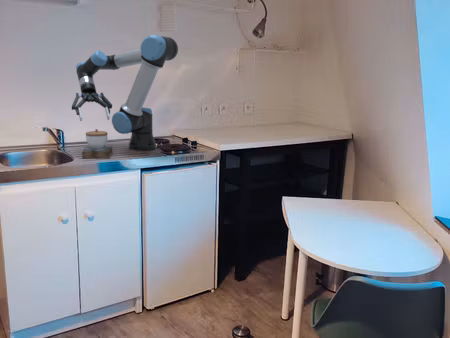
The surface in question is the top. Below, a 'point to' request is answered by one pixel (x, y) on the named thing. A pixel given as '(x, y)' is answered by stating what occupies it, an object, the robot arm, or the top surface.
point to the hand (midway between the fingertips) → (95, 118)
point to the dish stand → (97, 152)
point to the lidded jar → (96, 139)
